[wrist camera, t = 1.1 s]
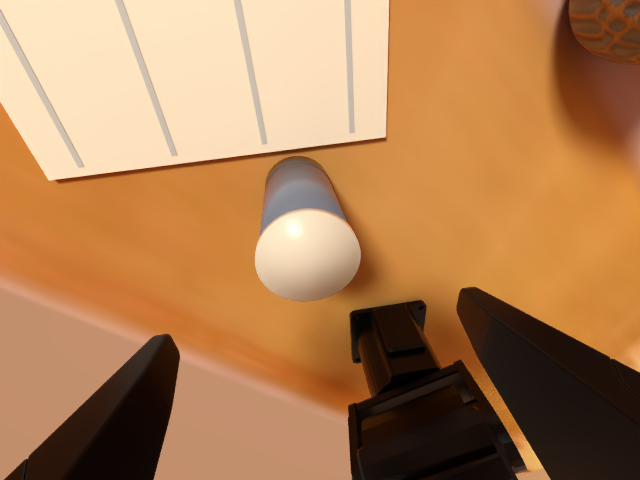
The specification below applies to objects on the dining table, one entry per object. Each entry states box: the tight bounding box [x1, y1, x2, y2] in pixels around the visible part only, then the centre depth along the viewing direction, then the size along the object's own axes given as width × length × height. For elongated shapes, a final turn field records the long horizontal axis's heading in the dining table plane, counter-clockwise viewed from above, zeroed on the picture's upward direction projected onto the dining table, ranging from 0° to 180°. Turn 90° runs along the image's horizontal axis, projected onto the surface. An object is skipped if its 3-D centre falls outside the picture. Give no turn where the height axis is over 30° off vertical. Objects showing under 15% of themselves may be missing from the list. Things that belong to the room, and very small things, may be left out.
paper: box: [0, 0, 389, 180], centre depth 13 cm, size 13×19×1 cm
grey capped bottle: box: [255, 156, 361, 301], centre depth 15 cm, size 4×4×8 cm
